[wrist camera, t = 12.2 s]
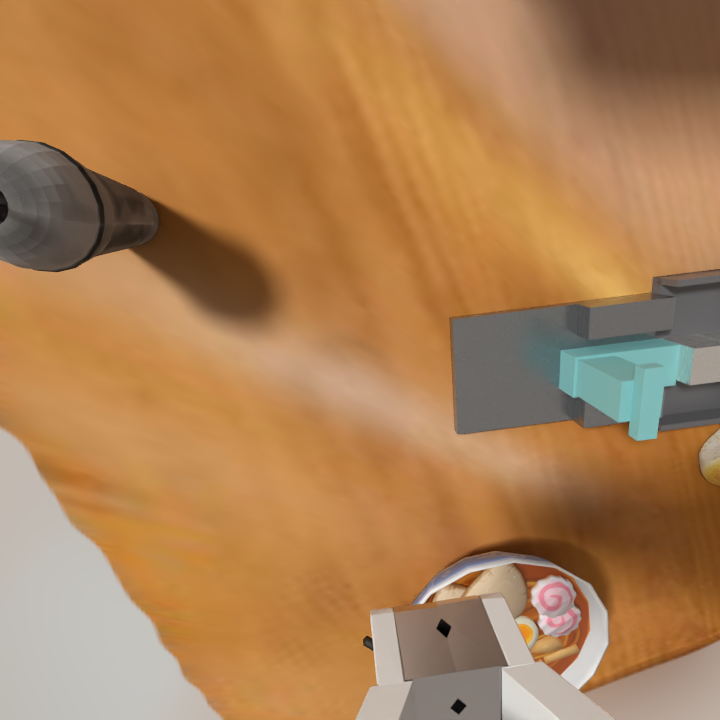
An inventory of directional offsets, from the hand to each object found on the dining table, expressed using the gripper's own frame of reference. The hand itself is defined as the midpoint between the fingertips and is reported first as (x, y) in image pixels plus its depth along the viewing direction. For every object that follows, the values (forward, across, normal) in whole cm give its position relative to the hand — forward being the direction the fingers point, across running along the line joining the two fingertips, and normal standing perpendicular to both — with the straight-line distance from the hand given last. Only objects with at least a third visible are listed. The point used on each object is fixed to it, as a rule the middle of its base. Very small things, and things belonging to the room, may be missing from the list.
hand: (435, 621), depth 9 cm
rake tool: (+30, -25, +6) cm, 39 cm away
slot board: (+31, -19, +6) cm, 37 cm away
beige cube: (+30, -31, +6) cm, 44 cm away
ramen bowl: (+31, -11, +34) cm, 48 cm away
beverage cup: (+31, +18, -12) cm, 38 cm away
